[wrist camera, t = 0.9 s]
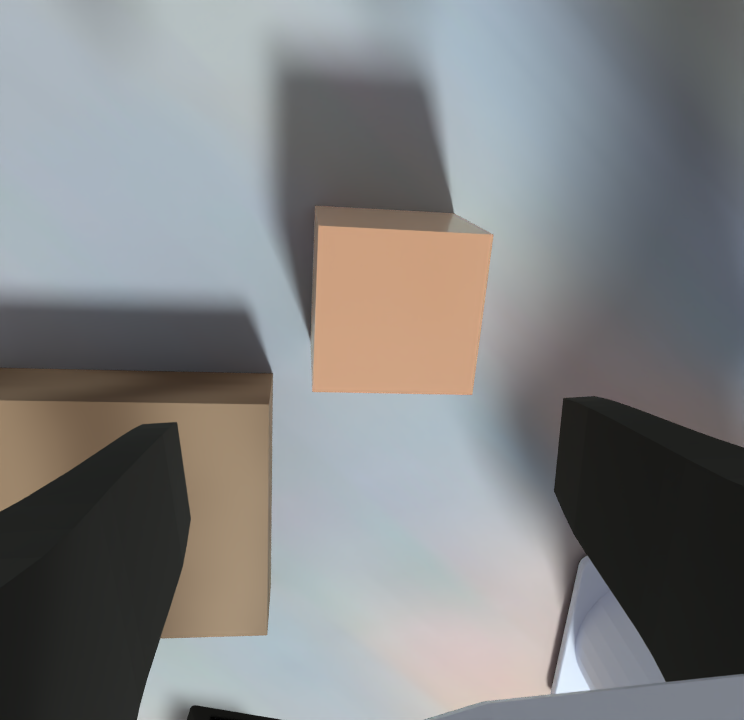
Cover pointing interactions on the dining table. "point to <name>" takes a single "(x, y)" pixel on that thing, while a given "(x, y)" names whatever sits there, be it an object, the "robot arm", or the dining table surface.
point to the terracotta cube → (396, 301)
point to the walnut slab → (200, 460)
